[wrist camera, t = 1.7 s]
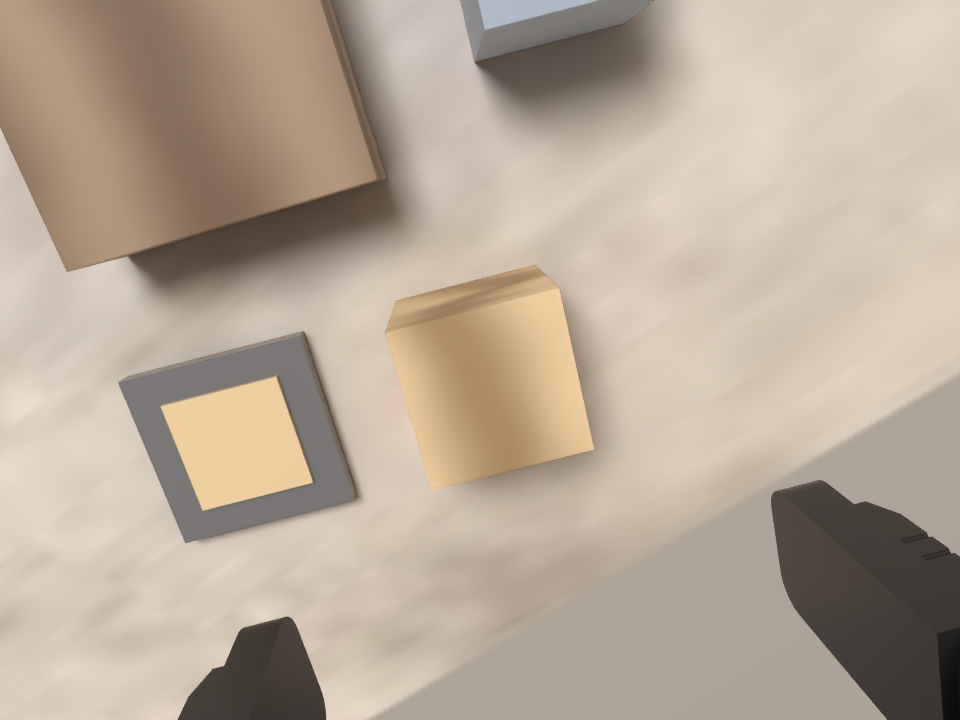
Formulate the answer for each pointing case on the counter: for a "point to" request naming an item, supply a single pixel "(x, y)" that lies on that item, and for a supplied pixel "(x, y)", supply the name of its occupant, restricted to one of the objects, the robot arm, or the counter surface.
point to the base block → (176, 116)
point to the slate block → (538, 22)
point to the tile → (240, 437)
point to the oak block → (489, 376)
